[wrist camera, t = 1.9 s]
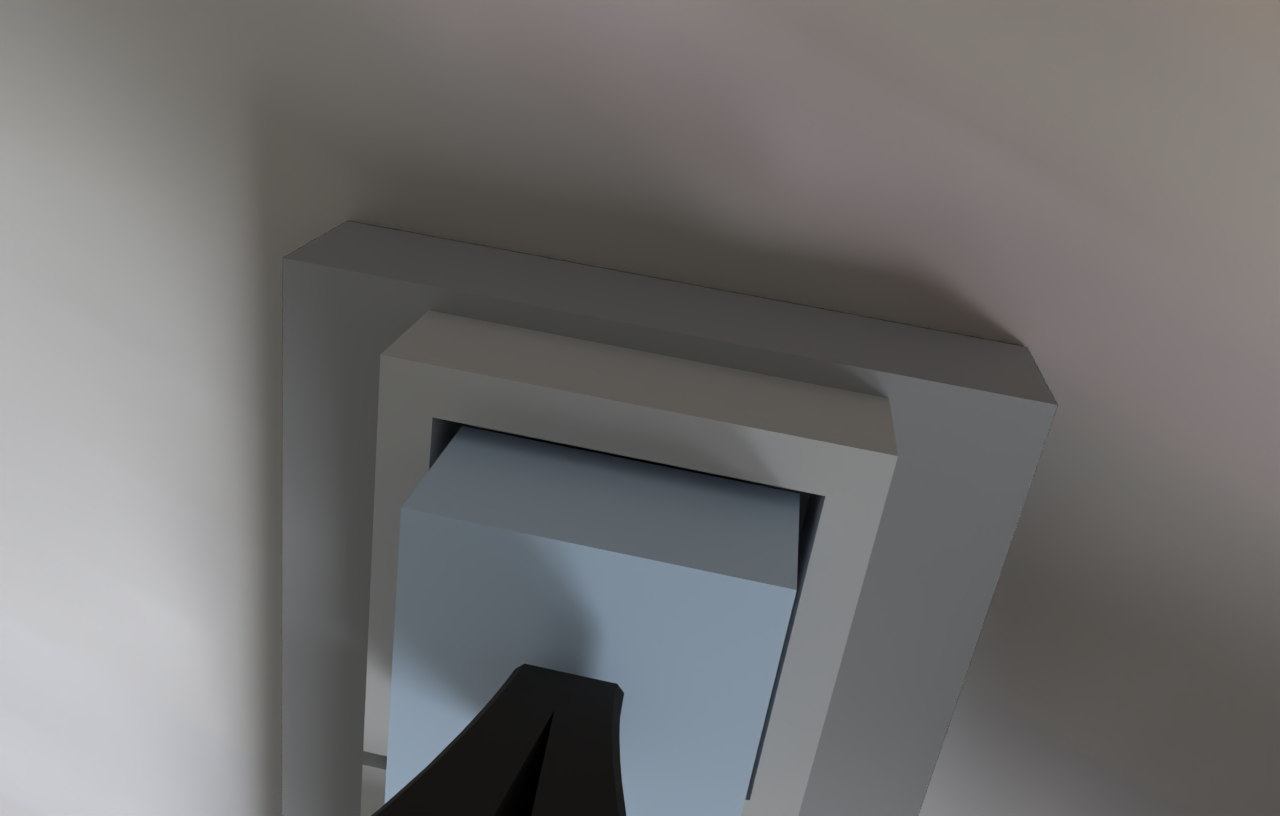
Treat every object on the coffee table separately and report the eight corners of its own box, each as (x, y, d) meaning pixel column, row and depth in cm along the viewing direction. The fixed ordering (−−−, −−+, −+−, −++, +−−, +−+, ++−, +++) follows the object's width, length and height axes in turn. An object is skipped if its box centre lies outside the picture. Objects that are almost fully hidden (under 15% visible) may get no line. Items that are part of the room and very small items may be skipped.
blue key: (799, 493, 15) (796, 589, 13) (736, 760, 17) (724, 883, 15) (462, 425, 15) (400, 507, 13) (440, 694, 18) (384, 804, 15)
